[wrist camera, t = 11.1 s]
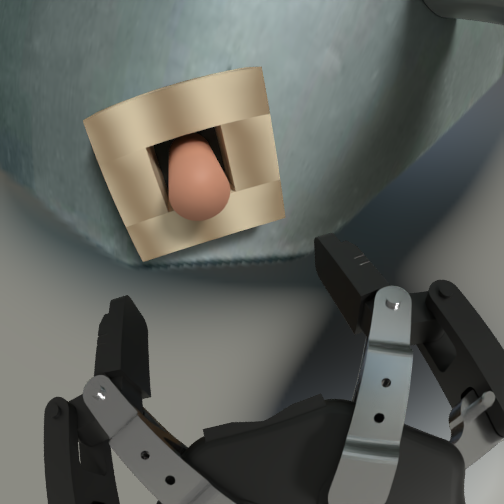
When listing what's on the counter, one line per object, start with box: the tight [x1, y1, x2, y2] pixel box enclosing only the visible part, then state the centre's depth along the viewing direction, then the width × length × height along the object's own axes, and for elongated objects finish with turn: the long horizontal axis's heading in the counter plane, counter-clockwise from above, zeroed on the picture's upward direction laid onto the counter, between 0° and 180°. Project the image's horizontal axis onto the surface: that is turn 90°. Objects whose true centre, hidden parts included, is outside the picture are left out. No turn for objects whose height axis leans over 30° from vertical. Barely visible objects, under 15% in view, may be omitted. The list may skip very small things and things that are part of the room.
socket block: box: [83, 67, 285, 262], centre depth 24 cm, size 14×14×5 cm
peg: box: [169, 133, 230, 221], centre depth 22 cm, size 4×4×10 cm
